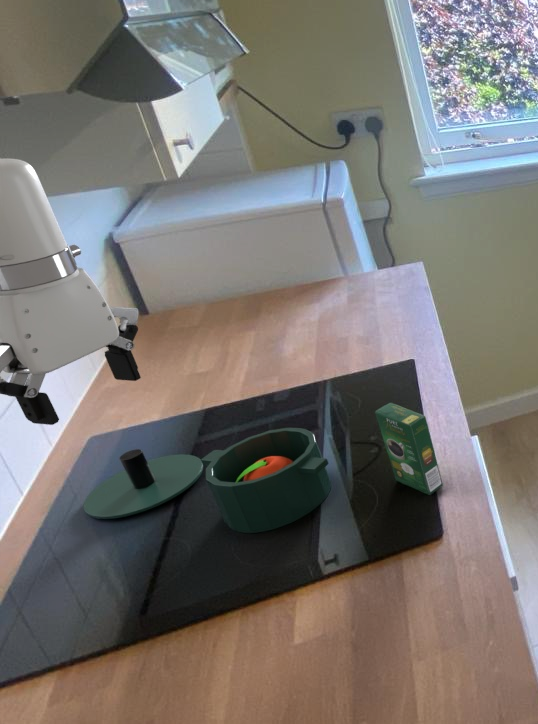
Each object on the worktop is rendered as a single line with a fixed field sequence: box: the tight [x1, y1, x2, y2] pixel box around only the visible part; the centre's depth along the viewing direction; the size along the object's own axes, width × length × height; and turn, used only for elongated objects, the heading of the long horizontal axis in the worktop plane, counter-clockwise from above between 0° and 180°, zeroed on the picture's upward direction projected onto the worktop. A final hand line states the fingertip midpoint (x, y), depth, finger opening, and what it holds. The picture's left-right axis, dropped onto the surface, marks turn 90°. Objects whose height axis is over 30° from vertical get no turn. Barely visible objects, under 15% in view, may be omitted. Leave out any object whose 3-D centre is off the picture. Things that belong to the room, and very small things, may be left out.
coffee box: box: [374, 402, 444, 496], centre depth 109 cm, size 8×3×13 cm, turn 63°
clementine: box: [235, 456, 293, 483], centre depth 107 cm, size 8×7×7 cm
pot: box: [200, 427, 332, 534], centre depth 108 cm, size 13×19×8 cm
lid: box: [83, 448, 204, 520], centre depth 111 cm, size 14×14×7 cm
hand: (89, 399), depth 89 cm, fingers open, 9 cm apart
